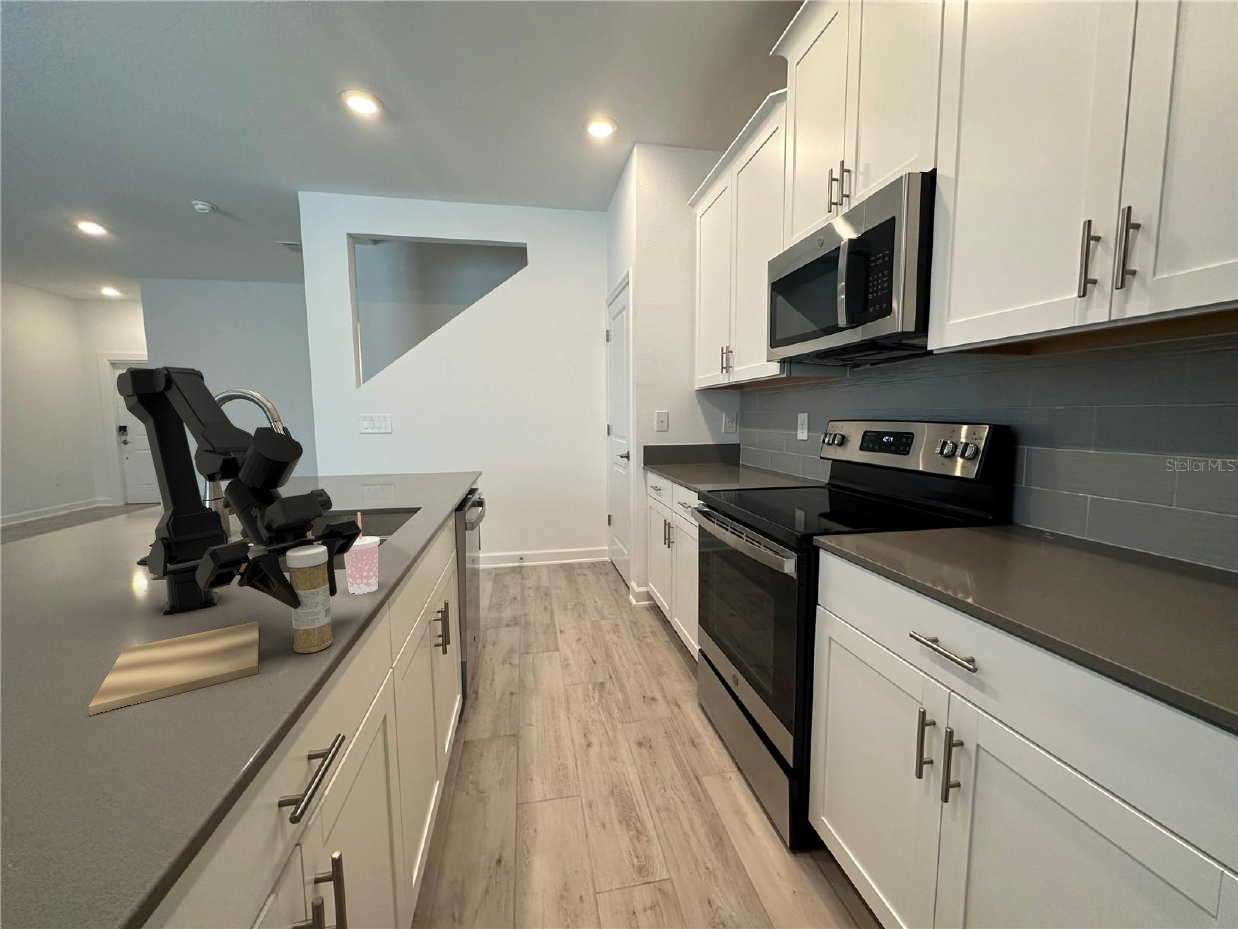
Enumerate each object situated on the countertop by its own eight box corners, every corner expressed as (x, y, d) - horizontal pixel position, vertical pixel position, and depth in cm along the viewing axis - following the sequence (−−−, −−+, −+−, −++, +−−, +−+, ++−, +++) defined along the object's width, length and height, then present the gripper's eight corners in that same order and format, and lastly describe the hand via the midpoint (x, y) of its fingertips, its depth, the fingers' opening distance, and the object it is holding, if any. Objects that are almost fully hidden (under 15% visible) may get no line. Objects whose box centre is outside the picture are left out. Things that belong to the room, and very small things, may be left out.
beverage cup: (386, 590, 86) (381, 512, 85) (346, 598, 83) (341, 517, 81) (378, 581, 91) (374, 507, 90) (341, 588, 88) (336, 511, 86)
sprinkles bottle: (308, 639, 68) (301, 544, 66) (340, 639, 67) (334, 543, 66) (285, 655, 63) (277, 553, 62) (320, 655, 63) (313, 553, 62)
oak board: (125, 655, 63) (124, 648, 63) (258, 627, 71) (258, 621, 71) (89, 715, 50) (88, 706, 50) (257, 673, 58) (257, 665, 58)
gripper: (198, 480, 56) (259, 587, 53) (350, 465, 73) (404, 546, 69) (172, 540, 61) (226, 642, 57) (321, 513, 77) (371, 591, 73)
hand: (317, 600), depth 64 cm, fingers closed on sprinkles bottle, 4 cm apart
